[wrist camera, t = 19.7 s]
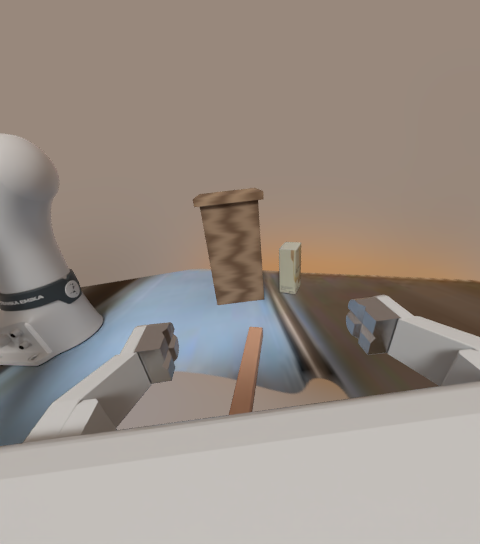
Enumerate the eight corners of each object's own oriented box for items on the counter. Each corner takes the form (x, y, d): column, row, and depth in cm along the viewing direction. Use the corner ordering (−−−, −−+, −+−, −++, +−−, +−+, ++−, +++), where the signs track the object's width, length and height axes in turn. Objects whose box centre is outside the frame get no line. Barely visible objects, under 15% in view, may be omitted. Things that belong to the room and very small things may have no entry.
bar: (222, 467, 24) (218, 456, 23) (250, 336, 42) (249, 326, 41) (243, 472, 23) (241, 461, 22) (262, 337, 41) (262, 327, 40)
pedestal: (213, 307, 52) (192, 199, 41) (215, 284, 63) (199, 194, 52) (268, 300, 52) (263, 191, 41) (261, 279, 63) (255, 187, 52)
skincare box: (295, 295, 53) (296, 250, 48) (279, 292, 55) (278, 249, 50) (300, 283, 58) (302, 241, 53) (285, 281, 60) (285, 241, 55)
